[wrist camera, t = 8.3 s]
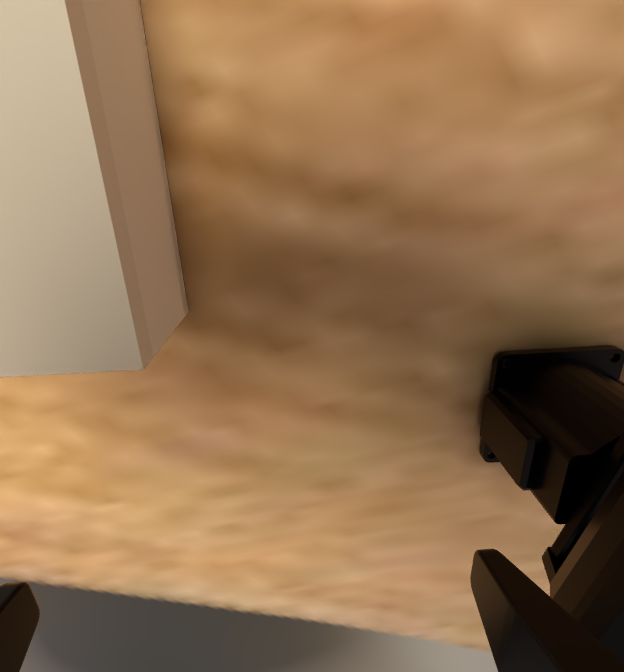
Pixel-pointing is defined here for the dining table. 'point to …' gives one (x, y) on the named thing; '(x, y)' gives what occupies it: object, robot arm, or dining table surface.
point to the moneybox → (82, 193)
